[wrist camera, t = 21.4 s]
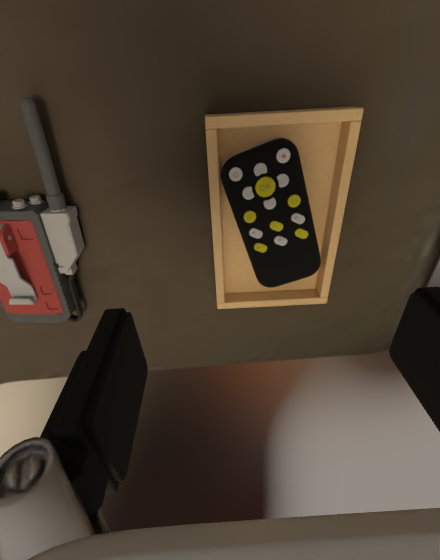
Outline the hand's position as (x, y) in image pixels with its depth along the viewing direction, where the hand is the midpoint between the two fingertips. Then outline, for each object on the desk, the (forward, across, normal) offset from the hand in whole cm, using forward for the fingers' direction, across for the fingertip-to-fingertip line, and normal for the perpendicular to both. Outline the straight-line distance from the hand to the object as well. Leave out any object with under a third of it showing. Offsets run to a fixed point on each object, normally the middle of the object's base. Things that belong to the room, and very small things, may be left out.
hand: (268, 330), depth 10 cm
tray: (+18, -4, +4) cm, 18 cm away
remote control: (+17, -3, +3) cm, 18 cm away
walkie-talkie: (+18, +18, +3) cm, 26 cm away
